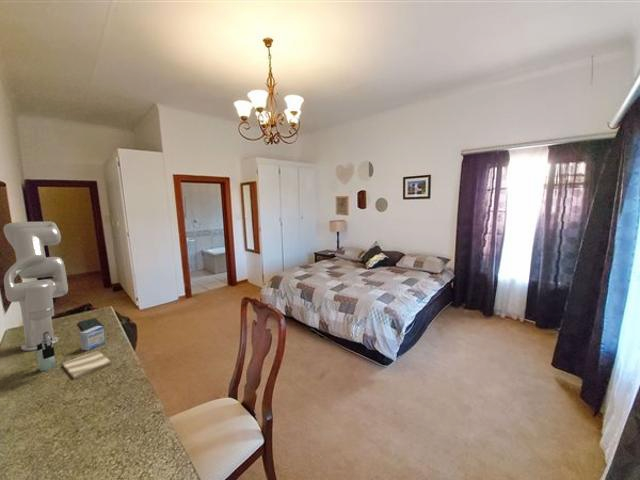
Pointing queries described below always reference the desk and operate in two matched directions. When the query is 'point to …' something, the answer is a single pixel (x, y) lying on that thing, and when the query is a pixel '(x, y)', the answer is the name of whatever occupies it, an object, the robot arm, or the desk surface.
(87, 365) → the birch board
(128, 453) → the desk surface
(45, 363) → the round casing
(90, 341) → the medicine box
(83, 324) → the smart home device
